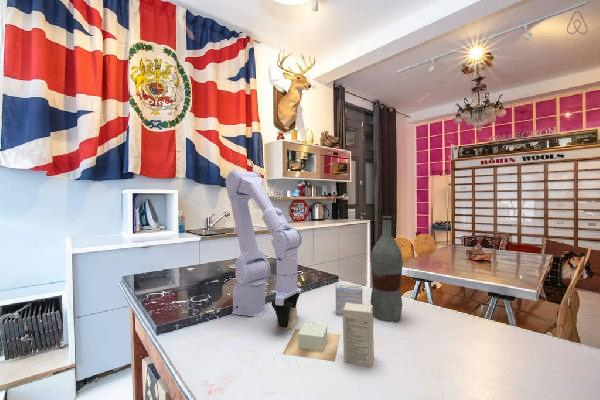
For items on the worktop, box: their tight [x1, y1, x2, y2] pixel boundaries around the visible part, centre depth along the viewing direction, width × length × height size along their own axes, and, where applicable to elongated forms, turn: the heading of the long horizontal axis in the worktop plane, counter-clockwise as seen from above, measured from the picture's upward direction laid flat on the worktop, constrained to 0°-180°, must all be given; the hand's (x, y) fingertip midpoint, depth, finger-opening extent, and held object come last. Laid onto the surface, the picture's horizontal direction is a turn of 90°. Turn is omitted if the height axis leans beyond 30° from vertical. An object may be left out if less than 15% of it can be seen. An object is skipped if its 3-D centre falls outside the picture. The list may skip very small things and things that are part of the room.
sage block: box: [298, 322, 328, 352], centre depth 71 cm, size 6×6×4 cm
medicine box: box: [335, 283, 364, 317], centre depth 88 cm, size 8×4×9 cm, turn 84°
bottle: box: [370, 215, 404, 323], centre depth 86 cm, size 9×9×30 cm
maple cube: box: [276, 307, 298, 330], centre depth 81 cm, size 4×4×4 cm
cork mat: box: [282, 328, 341, 362], centre depth 71 cm, size 12×12×1 cm
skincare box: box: [342, 303, 375, 368], centre depth 64 cm, size 6×4×12 cm
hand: (287, 321), depth 81 cm, fingers open, 6 cm apart
